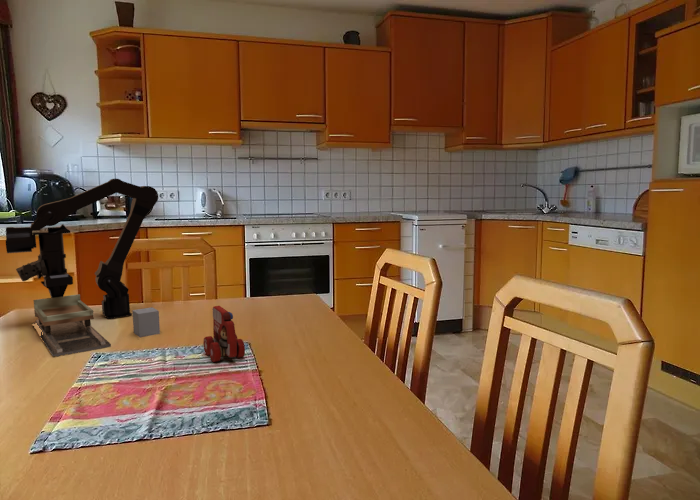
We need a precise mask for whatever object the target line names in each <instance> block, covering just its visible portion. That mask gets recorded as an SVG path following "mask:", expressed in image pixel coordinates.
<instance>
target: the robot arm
mask: <svg viewBox="0 0 700 500" xmlns="http://www.w3.org/2000/svg"><path fill="white" fill-rule="evenodd" d="M114 194H119V195H122V196H124V197H128V198H131V199H132V200H131V205H130V212H129V214H128V217H127V219H126V221H125V223H124V226H123V228H122V229H121V233H120V234H119V236H118V239H117V241H116V243H115V245H114V247H113V249H112V252H111V254H110V256H109V257H108V259H107V260H106V261H105V262H104V261H102V260H100V261H99V264H98V268H97V270H95V272H94V275H95V283H96V285H97V287H98V288H99V289H100V290H101V291H103V292H104V293H106V294H103V300H101V311H102V315H103V316H104V317H105V316H106V317H107V319H108V320H111V318H112V319H117V318H122V317H123V318H124V317H130V316H133V313H131V308H130V307H131V306H130V294H129V288H128V287H127V286H126V284H125V283H123V282H122V281H121V279H122V276H123V272H124V271H123V269H124V265H125V261H126V259H127V257H128V255H129V252H130V250H131V248H132V246H133V243H134V241H135V239H136V237H137V235H138V232H139V231H140V228H141V226H142V224H143V222H144V220H145V218H146V217H147V216H148V214H149V213H150V212H151V211H152V209H154V206H155V205H156V203H158V200H159V194H158V190H156V189H155V188H154V187H153V186H150V185H142V186H139V185H136V184H134V183H129V182H127V181H123V180H121V179H119V178H111V179H109V180H108V181H105V182H104V183H102V184H101V183H100V184H99V185H97V186H94V187H92V188H91V189H88V190H86V191H85V190H84V191H83V192H81V193H78V194H77V195H74V196H71V197H69V198H65V199H61V200H56V201H52V202H49V203H44V204H42V205H40V206H39V207H38V208H37V211H36V218H35V220H34V221H33V222H31V224H30V226H25V227H24V226H21V227H16V226H6V228H5V249H6V254H17V253H32V252H33V249H36V248H37V240H36V239H37V238H38V244H39V254H38V255H37V260H35V261H32V262H30V263H29V262H28V263H27V264H22V266H20V267H19V266H18V268H15V271H16V273H17V275H18V277H19V278H20V279H21V281H22V282H26V281H29V280H30V279H31V278H34V277H36V278H37V279H38V280H40V279H42V278H43V280H41V281H40V283H41V284H42V286H43V287H45V288H46V289H48V292H49V296H50V298H53V297H62V296H65V293H66V290H67V288H68V286H70V285H74V280H73V276H72V275H71V274H69V273H68V270H67V268H66V258H67V255H66V253H65V246H64V235H63V234H70V233H71V230H70V229H69V228H67V227H66V226H65V224H61V225H60V226H58V227H57V226H56V227H55V225H57V224H59V223H61V222H62V221H64V220H65V219H67V218H68V217H69V216H71V215H72V214H74V213H75V212H77V211H78V210H79V211H80V210H81V209H83V208H85V207H87V206H89V205H92V204H95V203H96V202H99V201H101V200H103V199H105V198H108V197H110V196H112V195H114ZM52 226H54V227H52ZM45 227H47V231H40V230H43V229H44V228H45ZM36 235H37V236H38V237H37V238H36ZM106 317H105V318H106Z"/></svg>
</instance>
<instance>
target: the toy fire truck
mask: <svg viewBox="0 0 700 500" xmlns="http://www.w3.org/2000/svg"><path fill="white" fill-rule="evenodd" d="M212 318H213V320H212V321H213V322H212V323H213V327H212V328H213V336H212V335H211V336H210V335H209V336H204V338H203V350H204V354H205V355H206V356H209V357H210V360H211V362H213V363H216V362H220V361H221V359H222V358H223V357H229V358H235V357H236V358H237V359H239V358H243V357H244V356H245V353H246V346H245V342H244V340H243V339H242V338H238V336H237V334H236V328H235V323H234V321H233V318H234V315H233V313H232V312H230V311H228V310H226V308H224V307H222V306H221V305H215V306H213V307H212Z"/></svg>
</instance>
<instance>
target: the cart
mask: <svg viewBox="0 0 700 500" xmlns="http://www.w3.org/2000/svg"><path fill="white" fill-rule="evenodd" d="M33 309H34V317H35V318H37V320H39V325H43V326H44V328H45V333H51V327H50V325H56V324H63V323H69V322H76V321H83V320H84V323H85V327H90V326H92V323H91V320H94V318H95V317H94V309H93V308H91V307H89V306H88V305H87V304H86V303H85V302H83V301H82V300H81V294H70V295H63V296H62V297H53V298H51V297H47V298H39V299H38V298H37V299H33Z"/></svg>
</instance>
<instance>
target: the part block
mask: <svg viewBox="0 0 700 500" xmlns="http://www.w3.org/2000/svg"><path fill="white" fill-rule="evenodd" d="M132 326H133V327H132V328H133V334H134V335H136V337H138V338H144V337H150V336H156V335H160V334H161V333H160V332H161V329H160V328H161V326H160V311H159V310H158V309H156V308H154V307H153V306H151V307H146V308H138V309H132Z"/></svg>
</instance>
